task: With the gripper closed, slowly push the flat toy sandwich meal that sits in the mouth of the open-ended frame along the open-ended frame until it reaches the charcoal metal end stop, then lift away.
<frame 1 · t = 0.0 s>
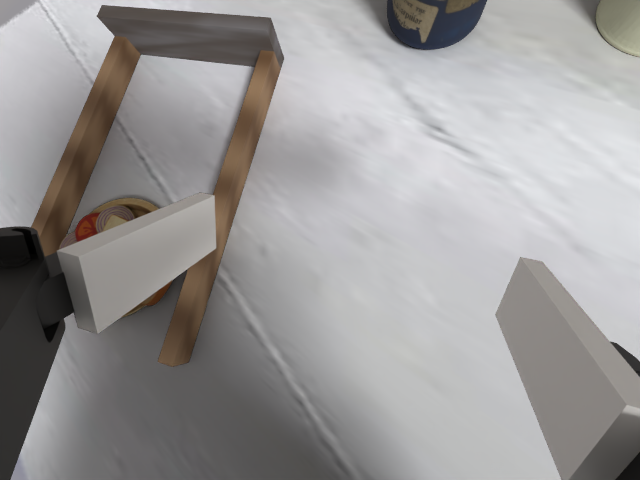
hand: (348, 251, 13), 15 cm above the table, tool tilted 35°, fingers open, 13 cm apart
toy sandwich meal: (133, 256, 33), on the table
canister: (430, 22, 33), on the table
open-ended frame: (155, 185, 34), on the table
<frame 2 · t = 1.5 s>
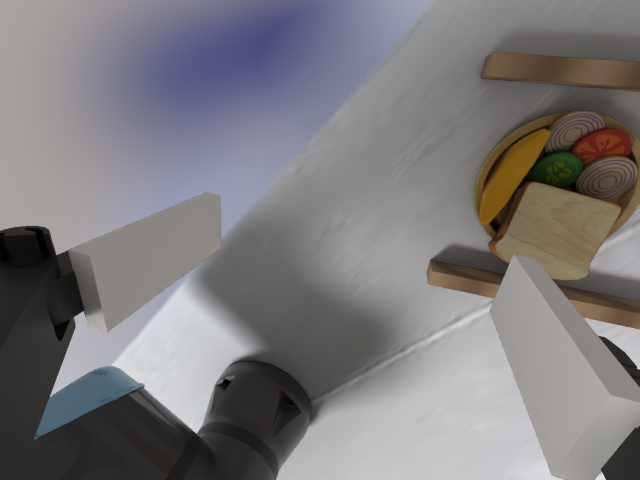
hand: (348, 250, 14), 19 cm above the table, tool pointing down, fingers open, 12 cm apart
toy sandwich meal: (548, 194, 28), on the table
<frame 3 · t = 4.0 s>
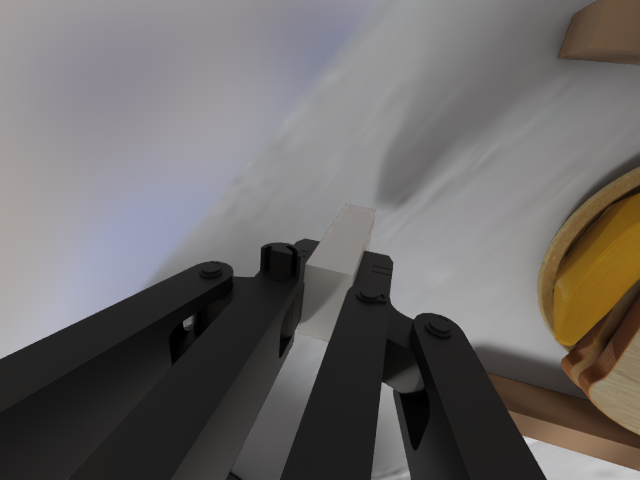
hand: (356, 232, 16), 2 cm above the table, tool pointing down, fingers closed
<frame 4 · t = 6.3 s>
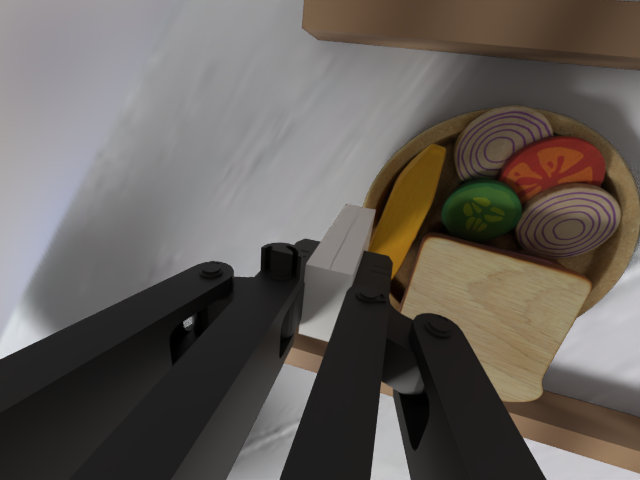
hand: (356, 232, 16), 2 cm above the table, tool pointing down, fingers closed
toy sandwich meal: (479, 243, 17), on the table
open-ended frame: (606, 268, 15), on the table
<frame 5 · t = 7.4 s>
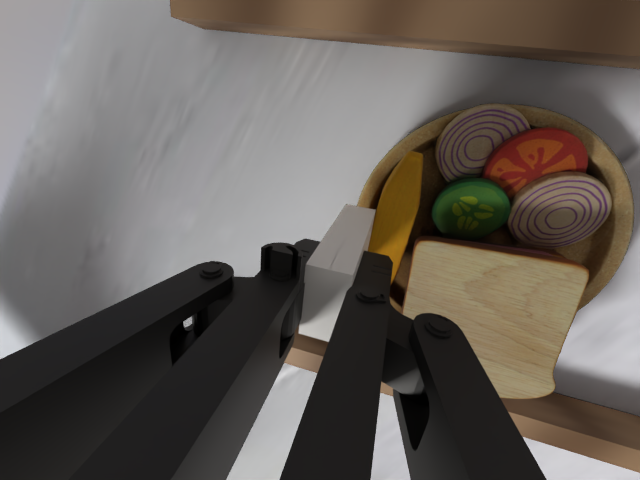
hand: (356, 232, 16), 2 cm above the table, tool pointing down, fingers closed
toy sandwich meal: (476, 240, 17), on the table, touching gripper
open-ended frame: (475, 241, 17), on the table
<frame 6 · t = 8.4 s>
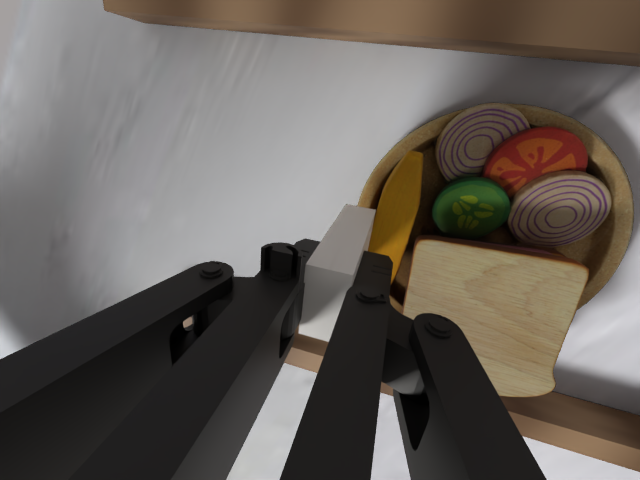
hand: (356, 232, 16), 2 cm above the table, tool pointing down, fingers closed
toy sandwich meal: (476, 239, 17), on the table, touching gripper
open-ended frame: (408, 227, 17), on the table
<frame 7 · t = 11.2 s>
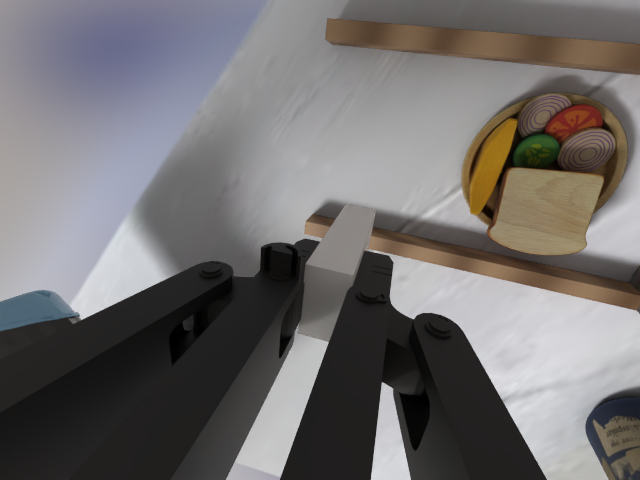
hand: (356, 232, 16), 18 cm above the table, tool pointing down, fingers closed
toy sandwich meal: (535, 174, 29), on the table
canister: (629, 419, 35), on the table
open-ended frame: (482, 165, 29), on the table
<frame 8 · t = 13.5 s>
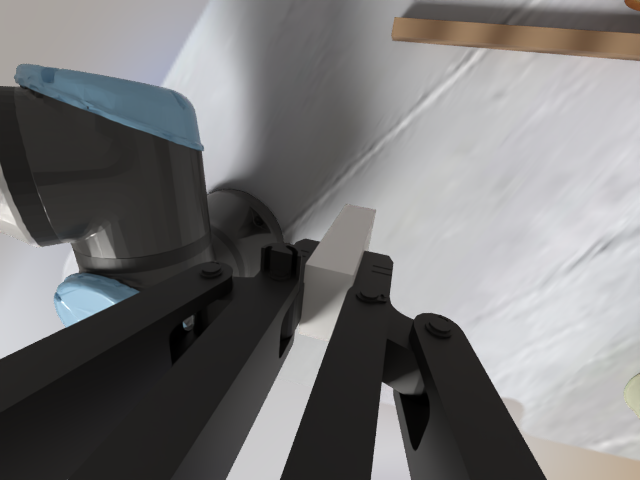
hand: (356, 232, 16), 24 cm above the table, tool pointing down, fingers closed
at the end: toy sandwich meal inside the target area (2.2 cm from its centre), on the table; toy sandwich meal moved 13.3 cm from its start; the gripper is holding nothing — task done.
